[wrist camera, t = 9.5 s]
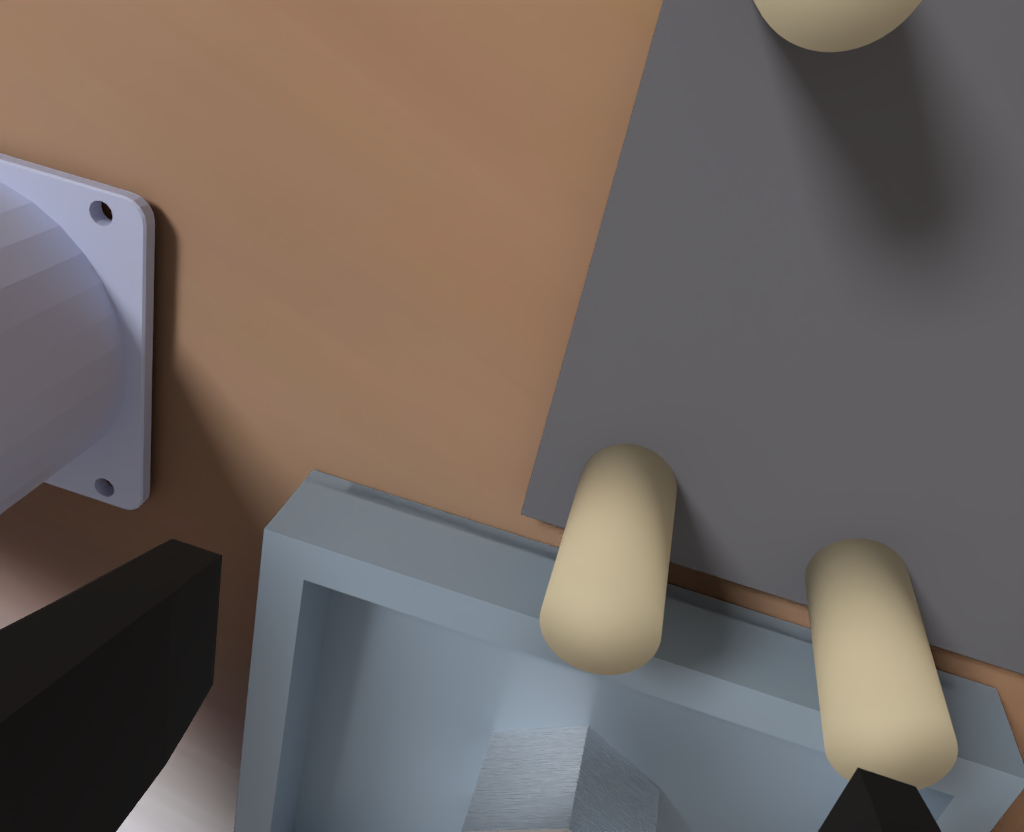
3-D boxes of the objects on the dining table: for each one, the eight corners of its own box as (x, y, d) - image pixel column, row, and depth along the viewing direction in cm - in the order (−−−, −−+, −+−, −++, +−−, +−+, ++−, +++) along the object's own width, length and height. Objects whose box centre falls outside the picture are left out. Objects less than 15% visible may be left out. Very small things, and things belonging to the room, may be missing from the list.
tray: (266, 836, 27) (226, 911, 25) (313, 469, 21) (264, 528, 18) (767, 1018, 26) (770, 1114, 24) (996, 688, 19) (1029, 780, 17)
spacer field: (526, 499, 20) (466, 654, 15) (717, -185, 13) (708, -259, 9) (1162, 701, 18) (1298, 933, 14) (1703, 51, 12) (2261, 101, 8)
